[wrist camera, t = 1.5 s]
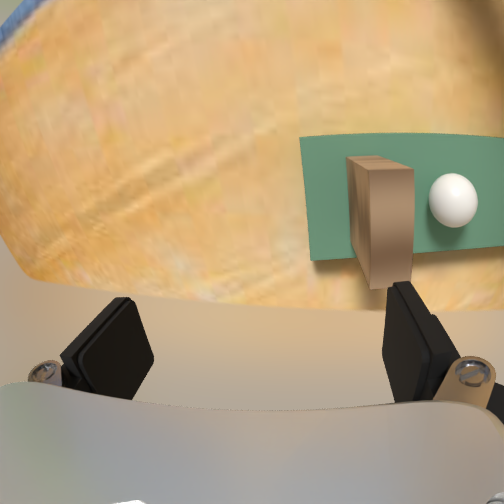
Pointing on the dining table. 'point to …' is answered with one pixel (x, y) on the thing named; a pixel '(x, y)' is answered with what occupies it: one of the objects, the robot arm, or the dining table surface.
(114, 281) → the dining table surface
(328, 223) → the putting mat
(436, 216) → the ball
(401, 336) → the robot arm
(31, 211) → the dining table surface
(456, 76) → the dining table surface
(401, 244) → the upright wooden plank
